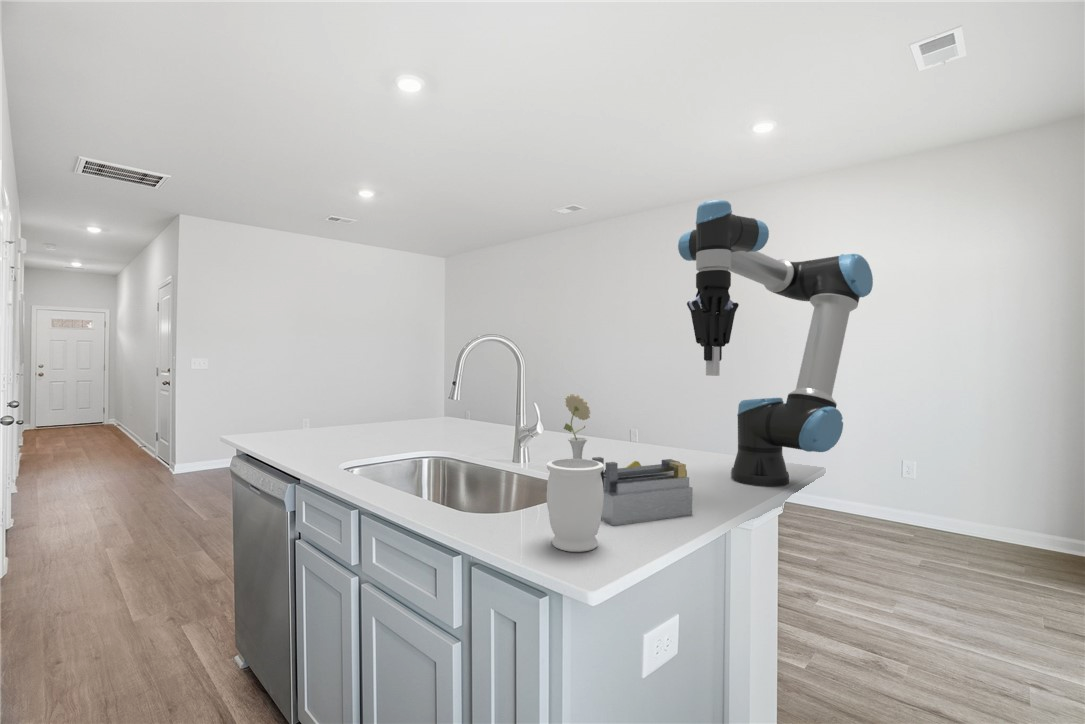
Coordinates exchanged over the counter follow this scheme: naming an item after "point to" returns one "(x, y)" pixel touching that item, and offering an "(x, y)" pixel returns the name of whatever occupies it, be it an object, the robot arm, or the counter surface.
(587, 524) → the jar
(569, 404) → the flower in vase
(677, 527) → the counter surface
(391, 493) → the counter surface
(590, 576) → the counter surface
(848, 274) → the robot arm
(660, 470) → the dark grey flat bar
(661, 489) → the heatsink block
